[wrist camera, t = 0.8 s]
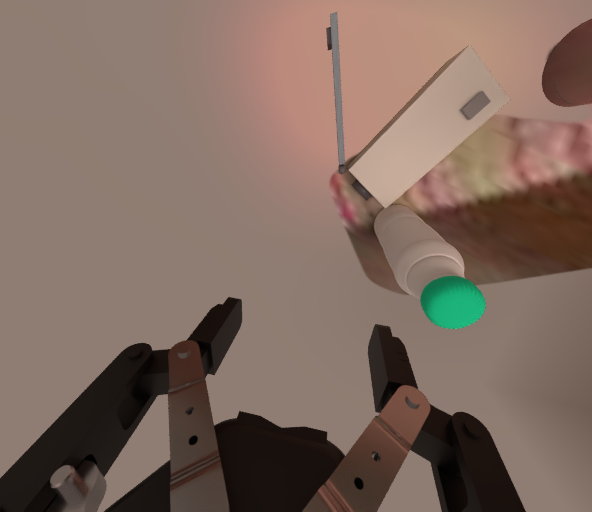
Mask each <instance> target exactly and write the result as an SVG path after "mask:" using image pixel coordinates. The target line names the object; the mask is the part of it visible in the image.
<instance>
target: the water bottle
mask: <svg viewBox="0 0 592 512" xmlns="http://www.w3.org/2000/svg"><path fill="white" fill-rule="evenodd" d="M374 231H375V233H376V236H377V237H378V239H379V242H380V244H381V246H382V247H383V250H384V253H385V256H386V258H387V260H388V263H389V265H390V267H391V268H392V270H393V272H394V276H395V279H396V281H397V283H398V285H399V286H400V287H401V288H402V289H403V290H404V291H405V292H407V293H408V294H410V295H412V296H414V297H417V298H418V299H420V301H421V306H422V308H423V310H424V312H425V314H426V316H427V317H428V318H429V320H430V321H431V322H433V323H434V324H435V325H438V326H440V327H443V328H448V329H451V328H452V329H455V328H457V329H459V328H464V327H465V326H468V325H470V324H472V323H473V322H476V321H477V320H479V319H480V317H481V316H482V315H483V313H484V309H485V307H486V306H485V304H486V303H485V299H484V297H483V295H482V293H481V292H480V290H479V289H478V288H477V287H476V286H475V285H474V284H473V283H472V282H471V281H469V280H468V279H466V278H465V277H464V262H463V259H462V257H461V255H460V253H459V252H458V251H457V250H456V249H455V248H454V247H453V246H452V245H450V244H448V243H447V242H446V241H445V240H444V239H443V238H442V237H441V236H440V235H439V234H438V233H437V232H436V231H435V230H433V229H432V228H431V227H430V226H428V225H427V224H426V223H424V222H423V220H422V219H421V218H420V217H419V216H417V215H416V214H415V213H414V212H413V211H412V210H411V209H410V208H408V207H406V206H403V205H391V206H388V207H387V208H386V209H385V208H384V209H383V210H382V211H380V212H379V214H378V215H377V216H376V218H375V221H374Z"/></svg>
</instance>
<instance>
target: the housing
mask: <svg viewBox="0 0 592 512" xmlns="http://www.w3.org/2000/svg"><path fill="white" fill-rule="evenodd" d="M509 101H510V98H509V97H508V96H507V94H506V93H505V91H504V90H503V89H502V88H501V86H500V85H499V83H498V82H497V81H496V79H495V78H494V76H493V75H492V74H491V72H490V71H489V70H488V68H487V67H486V66H485V64H484V63H483V61H482V60H481V59H480V57H479V56H478V55H477V53H476V52H475V51H474V49H473V48H472V46H471V45H469V46H467V47H466V48H465V49H463V50H462V51H461V52H459V53H458V54H457V55H455V56H454V57H453V58H451V59H450V60H449V61H447V62H446V63H445V64H444V65H443V66H442V67H441V68H440V69H439V70H438V71H437V72H436V73H435V74H434V76H433V77H432V78H431V79H430V80H429V81H428V82H427V83H426V84H425V85H424V86H423V87H422V88H421V89H420V90H419V91H418V93H416V94H415V96H414V97H413V98H412V99H411V100H410V101H409V102H408V103H407V104H406V105H405V106H404V107H403V108H402V109H401V110H400V111H399V112H398V113H397V115H395V117H393V119H392V120H391V121H390V122H389V123H388V124H387V125H386V126H385V127H384V128H383V129H382V130H381V131H380V132H379V133H378V134H377V135H376V136H375V137H374V139H373V140H372V141H371V142H370V143H369V144H368V145H367V146H366V147H365V148H364V149H363V150H362V151H361V152H360V153H359V154H358V155H357V156H356V157H355V158H354V159H353V161H352V162H351V163H350V164H349V165H348V166H347V168H348V170H349V171H350V172H351V173H352V174H353V176H354V177H355V178H356V180H355V181H354V182H353V183H352V186H353V187H354V188H355V189H356V190H357V191H358V192H359V194H360V195H361V196H362V197H363V198H365V199H366V200H368V199H369V198H370V197H371V196H372V195H373V196H374V197H375V198H376V199H377V200H378V201H379V202H380V203H381V205H382V206H383V207H384V208H385V209H386V208H387V207H388V206H389V205H390V204H392V203H393V202H394V201H395V200H396V199H397V198H399V197H400V196H401V195H402V194H403V193H404V192H405V191H407V190H408V189H409V188H410V187H411V186H412V185H413V184H415V183H416V182H417V181H418V180H419V179H420V178H422V177H423V176H424V175H425V174H426V173H427V172H428V171H430V170H431V169H432V168H433V167H434V166H435V165H436V164H438V163H439V162H440V161H441V160H442V159H443V158H445V157H446V156H447V155H448V154H449V153H450V152H451V151H453V150H454V149H455V148H456V147H457V146H458V145H459V144H461V143H462V142H463V141H464V140H465V139H466V138H468V137H469V136H470V135H471V134H472V133H473V132H474V131H476V130H477V129H478V128H479V127H480V126H481V125H483V124H484V123H485V122H486V121H487V120H488V119H489V118H491V117H492V116H493V115H494V114H495V113H496V112H497V111H499V110H500V109H501V108H502V107H503V106H504V105H506V104H507V103H508V102H509Z"/></svg>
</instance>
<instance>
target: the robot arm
mask: <svg viewBox="0 0 592 512" xmlns="http://www.w3.org/2000/svg"><path fill="white" fill-rule="evenodd" d="M542 87H543V92H544V94H545V95H546V97H547V98H548V100H550V102H552V103H554V104H556V105H559V106H564V107H566V106H567V107H570V106H578V105H584V104H590V103H592V19H590V20H588V21H586V22H584V23H582V24H581V25H579V26H578V27H576V28H575V29H573V30H572V31H571V32H569V34H567V35H566V36H565V37H564V38H563V39H562V40H561V41H560V42H559V43H558V45H557V46H556V47H555V48H554V50H553V51H552V53H551V55H550V56H549V58H548V60H547V62H546V65H545V67H544V71H543V75H542ZM241 323H242V301H241V299H236V298H231V297H228V298H227V300H226V301H225V302H224V304H223V305H222V304H218V305H216V306H215V307H213V308H212V309H211V310H210V311H209V312H208V313H207V316H205V317H204V319H203V320H202V321H201V323H200V324H199V325H198V326H197V328H196V329H195V330H194V331H193V333H192V334H191V335H190V337H189V338H188V339H187V340H186V341H182V342H179V343H177V344H175V345H174V346H173V347H172V348H171V349H168V350H156V351H152V348H151V346H150V345H149V344H146V343H138V344H134V345H131V346H129V347H128V348H126V349H125V350H123V351H122V352H121V353H120V354H119V355H118V356H117V358H115V360H113V362H112V363H111V364H110V365H109V366H108V367H107V368H106V369H105V370H104V371H103V372H102V373H101V374H100V375H99V376H98V377H97V378H96V379H95V380H94V381H93V382H92V384H90V386H89V387H88V388H87V389H86V390H85V391H84V392H83V393H82V394H81V395H80V396H79V397H78V398H77V399H76V400H75V401H74V402H73V403H72V404H71V405H70V406H69V407H68V408H67V409H66V410H65V412H64V413H63V414H62V415H61V416H60V417H59V418H58V419H57V420H56V421H55V422H54V423H53V424H52V425H51V426H50V427H49V428H48V429H47V430H46V431H45V432H44V433H43V434H42V435H41V437H40V438H39V439H38V440H37V441H36V442H35V443H34V444H33V445H32V446H31V447H30V448H29V449H28V450H27V451H26V452H25V453H24V454H23V455H22V456H21V457H20V458H19V460H18V461H17V462H16V463H15V464H14V465H13V466H12V467H11V468H10V469H9V470H8V471H7V472H6V473H5V474H4V475H3V476H2V477H1V478H0V512H97V510H98V508H99V506H100V504H101V502H102V499H103V498H104V495H105V491H106V480H105V478H104V477H105V475H106V473H107V472H108V470H109V469H110V467H111V466H112V464H113V463H114V461H115V460H116V458H117V457H118V455H119V453H120V452H121V450H122V449H123V448H124V446H125V445H126V443H127V441H128V440H129V438H130V437H131V435H132V434H133V432H134V431H135V429H136V428H137V426H138V425H139V423H140V422H141V420H142V418H143V417H144V416H145V414H146V412H147V411H148V409H149V408H150V406H151V405H152V403H153V402H154V400H155V399H156V397H157V396H158V395H163V394H168V405H169V407H168V409H169V436H170V460H169V461H168V462H167V463H165V464H164V465H163V466H161V467H160V468H159V469H158V470H156V471H155V472H154V473H152V474H151V475H150V476H149V477H147V478H146V479H145V480H143V481H142V482H141V483H140V484H138V485H137V486H136V487H134V488H133V489H132V490H131V491H129V492H128V493H127V494H125V495H124V496H123V497H122V498H120V499H119V500H118V501H116V502H115V503H114V504H113V505H111V506H110V507H109V508H108V509H106V510H105V511H104V512H377V510H378V509H379V507H380V505H381V503H382V501H383V499H384V497H385V495H386V493H387V492H388V490H389V488H390V486H391V484H392V482H393V481H394V479H395V477H396V475H397V473H398V471H399V469H400V468H401V466H402V463H403V462H404V460H405V458H406V456H407V454H408V452H409V451H410V450H412V451H413V452H415V453H417V454H418V455H420V456H422V457H423V458H425V459H427V460H428V461H430V462H431V466H432V471H433V475H434V479H435V484H436V488H437V492H438V496H439V501H440V505H441V510H442V512H526V511H525V509H524V507H523V505H522V502H521V500H520V498H519V496H518V494H517V491H516V489H515V487H514V485H513V483H512V481H511V478H510V476H509V474H508V472H507V470H506V468H505V465H504V463H503V461H502V459H501V457H500V455H499V452H498V450H497V448H496V446H495V443H494V441H493V439H492V437H491V435H490V433H489V431H488V430H487V428H486V427H485V426H484V425H483V424H482V423H481V422H480V421H479V420H478V419H476V418H475V417H473V416H472V415H470V414H468V413H465V412H456V413H455V414H454V415H453V416H451V415H449V414H447V413H445V412H443V411H441V410H439V409H437V408H435V407H434V406H432V405H431V404H430V403H429V401H428V399H427V398H426V396H425V395H424V394H423V393H422V392H421V391H419V390H418V387H417V384H416V381H415V377H414V374H413V371H412V368H411V365H410V363H409V358H408V356H407V352H406V349H405V346H404V344H403V343H402V342H401V340H400V339H399V338H397V337H392V333H391V329H390V327H389V326H383V325H378V324H375V326H374V329H373V332H372V335H371V339H370V342H369V346H368V357H369V364H370V372H371V380H372V388H373V396H374V404H375V411H376V412H378V413H380V414H379V415H378V416H375V418H374V419H373V420H372V421H371V423H370V424H369V425H368V427H367V428H366V429H365V431H364V432H363V433H362V435H361V436H360V437H359V439H358V440H357V441H356V443H355V444H354V445H353V447H352V448H351V449H350V451H349V452H348V454H347V455H346V456H345V455H344V454H343V453H342V451H341V450H340V449H339V448H338V447H336V446H335V445H334V444H333V443H331V442H330V441H328V440H327V432H325V431H321V430H317V429H313V428H308V427H289V428H281V427H279V426H277V425H275V424H273V423H272V422H270V421H268V420H266V419H265V418H263V417H261V416H258V415H254V414H250V413H246V412H241V411H239V414H238V417H237V418H235V419H229V420H226V421H223V422H221V423H218V424H217V425H215V426H214V423H213V418H212V413H211V407H210V402H209V396H208V391H207V385H206V380H205V378H206V376H207V374H212V375H215V373H216V371H217V370H218V368H219V366H220V364H221V362H222V360H223V358H224V357H225V355H226V353H227V351H228V349H229V347H230V345H231V344H232V342H233V340H234V338H235V336H236V334H237V333H238V331H239V329H240V326H241Z"/></svg>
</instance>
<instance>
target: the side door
mask: <svg viewBox="0 0 592 512" xmlns="http://www.w3.org/2000/svg"><path fill="white" fill-rule="evenodd" d="M330 22H331V27H329V28H327V29H326V30H327V45H328V50H331V49H332V57H333V73H334V89H335V106H336V122H337V138H338V154H339V173H340V174H344V173H345V172H346V168H345V166H344V164H345V157H344V138H343V117H342V98H341V79H340V59H339V40H338V20H337V12H336V13H332V14H330Z"/></svg>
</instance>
